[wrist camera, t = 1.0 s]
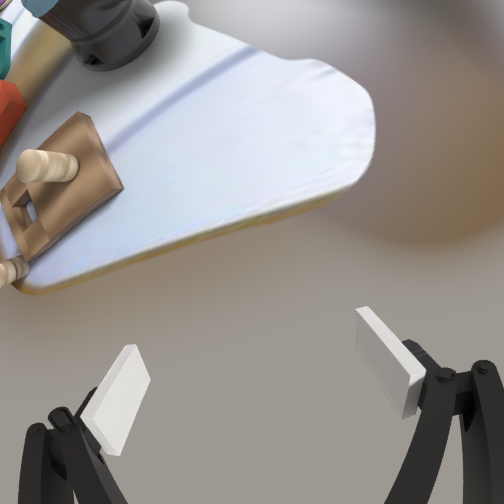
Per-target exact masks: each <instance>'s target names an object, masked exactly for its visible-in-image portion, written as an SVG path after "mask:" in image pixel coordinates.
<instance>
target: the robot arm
mask: <svg viewBox="0 0 504 504" xmlns="http://www.w3.org/2000/svg"><path fill="white" fill-rule="evenodd" d="M21 2H22V5H23V6H24V7H25V8H26V9H27V10H28V11H30V12H31V13H32V15H33V16H34V17H36V18H39V19H40V20H42V21H43V22H45V23H46V24H47V25H49V26H50V27H52V28H53V29H54V30H56V31H57V32H59V33H60V34H61V35H63V36H64V37H66V38H67V39H68V40H70V43H71V45H72V48H73V50H74V53H75V55H76V57H77V59H78V60H79V61H80V62H81V63H82V64H83V65H85V66H86V67H88V68H89V69H91V70H95V71H108V70H113V69H116V68H119V67H121V66H123V65H125V64H127V63H129V62H131V61H132V60H134V59H135V58H136V57H138V56H139V55H140V54H141V53H142V52H143V51H144V50H145V49H146V48H147V47H148V46H149V45H150V44H151V42H152V41H153V39H154V38H155V36H156V34H157V31H158V28H159V15H158V13H157V11H156V9H155V7H154V6H153V4H152V3H151V2H150V1H148V0H21ZM355 310H356V311H355V312H356V349H357V350H358V352H359V353H360V355H361V356H362V358H363V359H364V361H365V363H366V364H367V365H368V367H369V369H370V370H371V372H372V373H373V375H374V377H375V378H376V380H377V381H378V383H379V385H380V386H381V387H382V389H383V391H384V393H385V394H386V396H387V397H388V399H389V401H390V402H391V404H392V405H393V407H394V409H395V410H396V412H397V414H398V415H399V417H400V418H401V420H402V419H405V418H407V417H410V416H412V415H415V414H416V411H417V407H418V406H419V408H420V409H421V411H422V412H421V415H420V418H419V421H418V424H417V427H416V430H415V433H414V436H413V439H412V442H411V444H410V447H409V449H408V452H407V455H406V457H405V460H404V462H403V464H402V467H401V469H400V472H399V474H398V476H397V478H396V481H395V482H394V485H393V487H392V489H391V491H390V493H389V495H388V497H387V499H386V501H385V503H384V504H427V503H428V500H429V498H430V495H431V492H432V489H433V487H434V484H435V481H436V478H437V475H438V471H439V468H440V465H441V462H442V458H443V455H444V451H445V447H446V443H447V439H448V434H449V430H450V426H451V421H452V416H455V415H459V419H460V428H461V438H462V452H463V504H504V388H503V385H502V382H501V379H500V376H499V373H498V371H497V368H496V366H495V365H494V364H493V363H492V362H491V361H488V360H479V361H476V362H475V363H474V364H473V366H472V368H471V371H467V372H462V373H456V371H454V370H453V369H450V368H441V367H440V366H439V365H438V364H437V363H436V362H435V361H434V360H433V359H432V358H431V357H430V356H429V355H428V354H427V353H426V352H425V351H424V349H422V347H420V345H419V344H418V343H416V342H414V341H412V340H409V339H408V340H405V341H403V342H400V340H399V339H398V338H397V337H396V336H395V335H394V334H393V333H392V332H391V331H390V330H389V328H388V327H387V326H386V325H385V324H384V323H383V322H382V321H381V320H380V319H379V318H378V317H377V316H376V315H375V314H374V313H373V312H372V311H371V310H370V308H368V306H366V307H362V308H358V309H355ZM150 380H151V379H150V377H149V374H148V372H147V370H146V368H145V365H144V363H143V360H142V358H141V356H140V353H139V351H138V348H137V346H136V345H125V347H124V348H123V350H122V351H121V353H120V354H119V356H118V357H117V359H116V360H115V362H114V363H113V365H112V367H111V368H110V370H109V371H108V373H107V374H106V376H105V377H104V379H103V380H102V382H101V384H100V385H99V387H95V388H94V389H93V390H91V391H90V392H89V394H88V395H87V397H86V398H85V400H84V401H83V403H82V405H81V406H80V408H79V409H78V411H77V412H76V414H75V415H74V417H73V416H72V414H71V412H70V411H69V409H68V408H66V407H58V408H56V409H54V410H52V411H51V412H50V414H49V415H48V420H49V421H50V423H51V424H52V426H53V427H54V429H50V430H48V429H47V428H46V426H45V425H44V424H43V423H35V424H32V425H31V426H30V427H29V428H28V430H27V433H26V439H25V444H24V450H23V456H22V463H21V471H20V480H19V492H18V504H74V494H73V490H74V493H75V495H76V498H77V500H78V503H79V504H128V503H127V501H126V500H125V498H124V496H123V495H122V493H121V491H120V489H119V487H118V486H117V484H116V482H115V480H114V478H113V476H112V475H111V473H110V471H109V469H108V467H107V465H106V462H105V461H104V459H103V456H102V455H101V454H100V452H99V451H100V449H101V447H102V448H103V449H104V451H105V452H106V453H107V454H110V455H117V456H120V453H121V451H122V449H123V446H124V443H125V441H126V438H127V436H128V433H129V431H130V428H131V426H132V423H133V421H134V419H135V416H136V414H137V411H138V408H139V406H140V404H141V401H142V399H143V397H144V394H145V392H146V390H147V387H148V385H149V383H150Z"/></svg>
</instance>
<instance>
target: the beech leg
mask: <svg viewBox="0 0 504 504" xmlns="http://www.w3.org/2000/svg"><path fill="white" fill-rule="evenodd" d="M30 269H31V266H30V262H25V260H24V258H23V255H19V256H16V257H14V258H11V259H7V260H5V261H4V262H1V263H0V288H1V287H3V286H6V285H7V284H9V283H11V282H14V281H16V280H17V279H19V278H21V277H23V276H25V275H28V274H29V272H30Z"/></svg>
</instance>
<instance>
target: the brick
mask: <svg viewBox="0 0 504 504" xmlns="http://www.w3.org/2000/svg"><path fill="white" fill-rule="evenodd" d="M26 108H27V105H26V103H25V101H24V99H23V98H22V96H21V94H20V92H19V90H18V89H17V87H16V85H15V84H12V83H9V82H6V81H3V80H1V79H0V148H1V147H2V145H3V144H4V142H5V140H6V139H7V137H8V136H9V134H10V132H11V131H12V129H13V128H14V126H15V125H16V123H17V122H18V120H19V119H20V117H21V116H22V114H23V113H24V112H25V110H26Z"/></svg>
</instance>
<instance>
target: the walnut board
mask: <svg viewBox="0 0 504 504" xmlns="http://www.w3.org/2000/svg"><path fill="white" fill-rule="evenodd" d="M123 189H124V187H123V185H122V183H121V181H120V179H119V177H118V175H117V173H116V171H115V169H114V167H113V165H112V163H111V161H110V159H109V157H108V154H107V152H106V150H105V148H104V146H103V144H102V142H101V139H100V137H99V135H98V133H97V131H96V128H95V126H94V124H93V122H92V119H91V117H90V116H88V115H85V114H83V113H80V112H77V113H75V114H74V115H73V116H72V117H71V118H70V119H68V120H67V121H66V122H65V123H64V124H63V125H62V126H61V127H60V128H58V129H57V130H56V131H55V132H54V133H53V134H52V135H51V136H50V137H49V138H48V139H47V140H46V141H45V142H44V143H43V144H42V145H41V146H40V147H39V148H38V149H37V150H32V149H27V150H25V151H23V152H22V153H21V155H20V156H19V159H18V161H17V166H16V173H15V174H14V175H13V176H12V178H11V179H10V180H9V181H8V182H7V184H6V185H5V186H4V187H3V189H2V190H1V191H0V201H1V204H2V207H3V210H4V212H5V215H6V218H7V220H8V223H9V226H10V228H11V230H12V233H13V235H14V238H15V240H16V242H17V245H18V247H19V249H20V251H21V253H22V255H23V258H24V260H25V262H29V261H31V260H33V259H36V258H38V257H40V256H41V255H42V254H43V253H44V252H45V251H46V250H47V249H49V248H50V247H51V246H52V245H53V244H54V243H55V242H56V241H58V240H59V239H60V238H61V237H62V236H63V235H65V234H66V233H67V232H68V231H69V230H71V229H72V228H73V227H74V226H75V225H77V224H78V223H79V222H80V221H82V220H83V219H84V218H85V217H87V216H88V215H89V214H91V213H92V212H93V211H94V210H96V209H97V208H98V207H100V206H101V205H102V204H104V203H105V202H106V201H108V200H109V199H110V198H112V197H113V196H115V195H116V194H117V193H119V192H120V191H121V190H123ZM30 199H32V202H33V204H34V207H35V209H36V211H37V214H38V216H39V217H38V218H37V219H36V220H35V221H34V222H33V223H32V221H31V218H30V216H29V213H28V211H27V209H26V206H25V204H26V203H27V202H28V201H29V200H30Z"/></svg>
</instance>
